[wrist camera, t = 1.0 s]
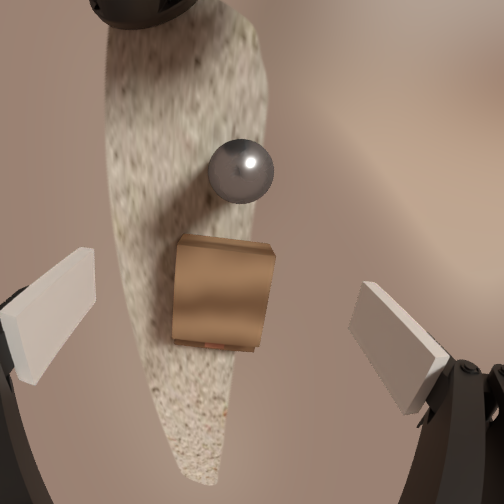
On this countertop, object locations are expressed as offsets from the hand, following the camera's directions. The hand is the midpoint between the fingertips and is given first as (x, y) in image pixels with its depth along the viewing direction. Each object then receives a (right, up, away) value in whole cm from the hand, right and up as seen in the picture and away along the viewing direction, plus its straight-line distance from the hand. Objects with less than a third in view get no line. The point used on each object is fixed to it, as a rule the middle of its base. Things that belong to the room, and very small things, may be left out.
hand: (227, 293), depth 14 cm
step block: (-3, -2, +23) cm, 23 cm away
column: (-1, +11, +19) cm, 22 cm away
